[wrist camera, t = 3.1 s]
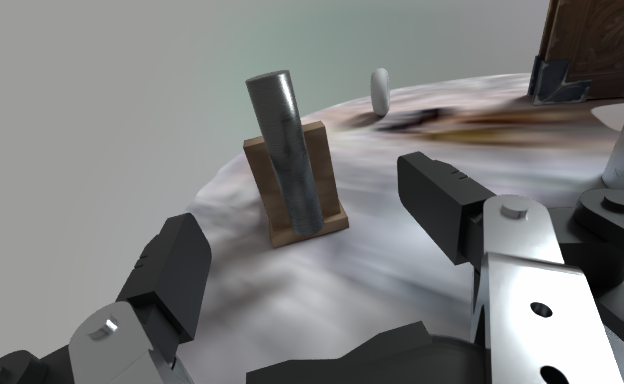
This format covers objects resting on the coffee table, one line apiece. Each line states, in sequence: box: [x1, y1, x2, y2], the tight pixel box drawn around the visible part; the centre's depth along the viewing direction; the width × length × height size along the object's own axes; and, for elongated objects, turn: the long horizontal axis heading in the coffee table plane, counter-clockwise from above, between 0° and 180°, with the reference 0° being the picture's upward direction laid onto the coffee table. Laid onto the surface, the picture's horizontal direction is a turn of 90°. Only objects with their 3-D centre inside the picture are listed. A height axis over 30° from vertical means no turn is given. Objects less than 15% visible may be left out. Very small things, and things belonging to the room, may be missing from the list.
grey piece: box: [246, 70, 324, 236], centre depth 28 cm, size 3×18×13 cm, turn 10°
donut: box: [371, 68, 390, 116], centre depth 59 cm, size 10×3×10 cm, turn 163°
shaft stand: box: [243, 121, 349, 248], centre depth 35 cm, size 9×19×12 cm, turn 10°
